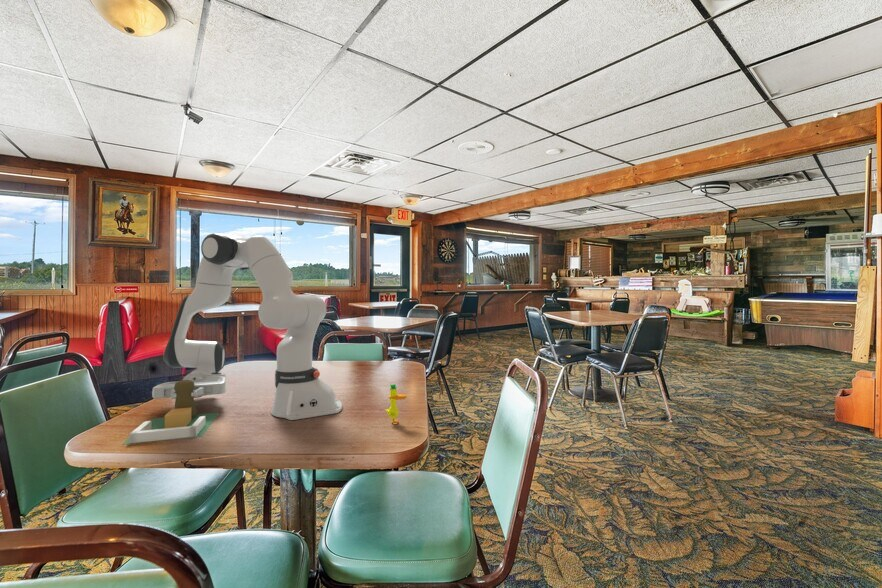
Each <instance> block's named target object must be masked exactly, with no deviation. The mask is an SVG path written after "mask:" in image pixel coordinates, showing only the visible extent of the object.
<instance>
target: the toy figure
mask: <svg viewBox="0 0 882 588" xmlns="http://www.w3.org/2000/svg"><path fill="white" fill-rule="evenodd" d="M397 388H398V387H397V386H396V383H392V384H390V388H389V396H388V399H389V401H390V407H388V409H386V408H385V409H384V411H385V412H386V414H387V415H388V417H389V418H390V420H392V421H391V424H392V423H398V424H399V422H400V421H399V420H398V419H397V417H398V415H399V409H398V407H397V400H398V401H399V400H401V401H402V400H405V399H406V398H408V395H407V394H403V393H402V394H401V393H398V389H397Z"/></svg>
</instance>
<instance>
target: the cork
mask: <svg viewBox="0 0 882 588" xmlns="http://www.w3.org/2000/svg"><path fill="white" fill-rule="evenodd" d="M178 381H179V382H178ZM178 381H176V382H177V383H176V384H175V386H174V389H175V391H176V393H177V395H176V398H175V403H174V408H173V409H178V408H190V407H191V417H193V416H195V415H197V410H196V408H197V407H196V403H195V398H194V397H191V391H192V390H193V389H194V382H193V381H192V380H183V379H182V380H178Z"/></svg>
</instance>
